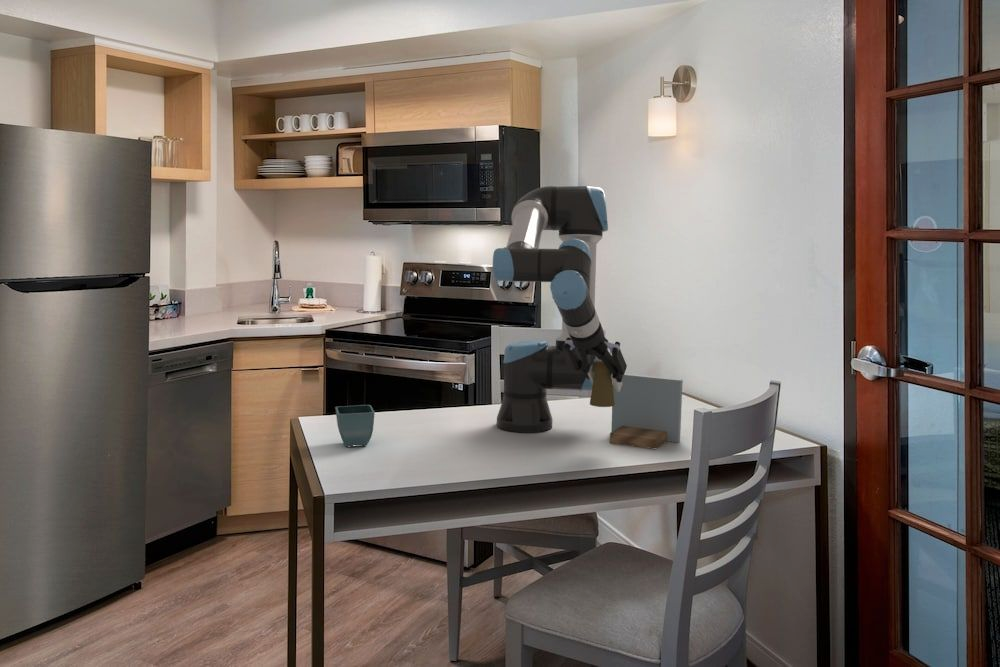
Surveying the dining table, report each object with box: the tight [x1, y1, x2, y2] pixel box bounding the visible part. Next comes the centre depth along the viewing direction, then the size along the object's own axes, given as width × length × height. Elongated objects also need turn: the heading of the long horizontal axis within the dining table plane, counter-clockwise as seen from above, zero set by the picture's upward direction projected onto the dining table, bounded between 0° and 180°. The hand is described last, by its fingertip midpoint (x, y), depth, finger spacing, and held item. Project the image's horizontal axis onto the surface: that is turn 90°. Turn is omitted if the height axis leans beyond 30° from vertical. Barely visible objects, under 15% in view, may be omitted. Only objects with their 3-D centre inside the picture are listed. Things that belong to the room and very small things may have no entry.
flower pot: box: [334, 404, 376, 447], centre depth 209 cm, size 9×9×9 cm
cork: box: [589, 359, 615, 408], centre depth 205 cm, size 6×6×11 cm
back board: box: [610, 373, 684, 443], centre depth 219 cm, size 18×2×16 cm, turn 62°
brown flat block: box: [609, 426, 668, 449], centre depth 216 cm, size 12×9×2 cm
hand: (608, 386), depth 209 cm, fingers closed on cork, 5 cm apart
